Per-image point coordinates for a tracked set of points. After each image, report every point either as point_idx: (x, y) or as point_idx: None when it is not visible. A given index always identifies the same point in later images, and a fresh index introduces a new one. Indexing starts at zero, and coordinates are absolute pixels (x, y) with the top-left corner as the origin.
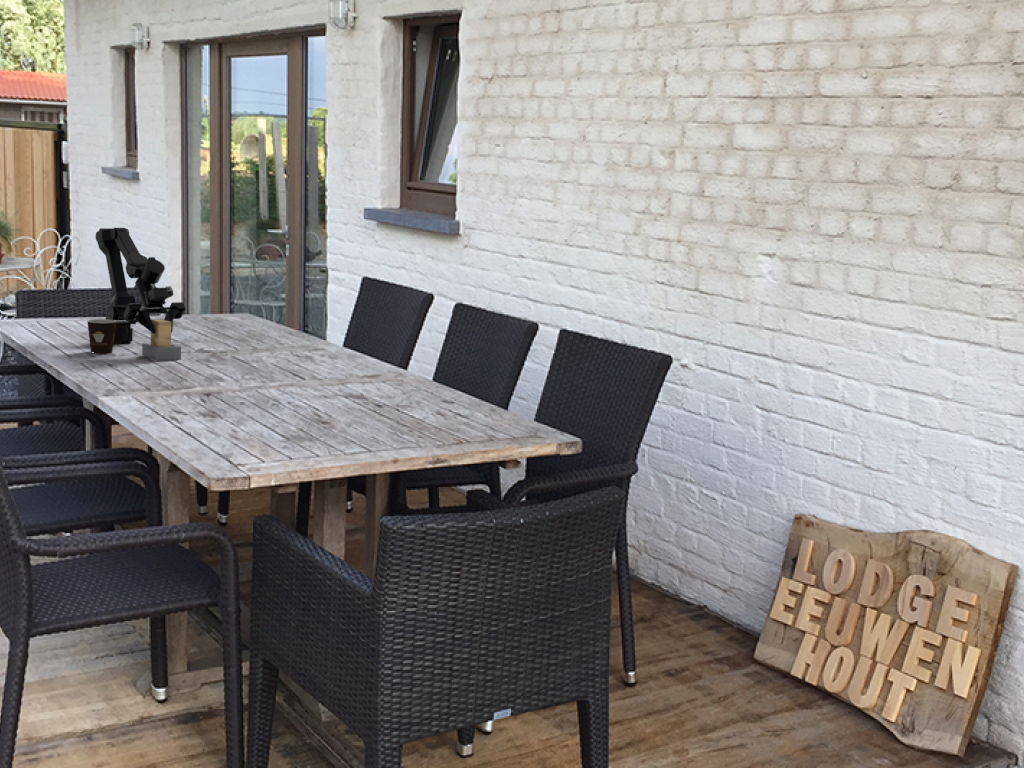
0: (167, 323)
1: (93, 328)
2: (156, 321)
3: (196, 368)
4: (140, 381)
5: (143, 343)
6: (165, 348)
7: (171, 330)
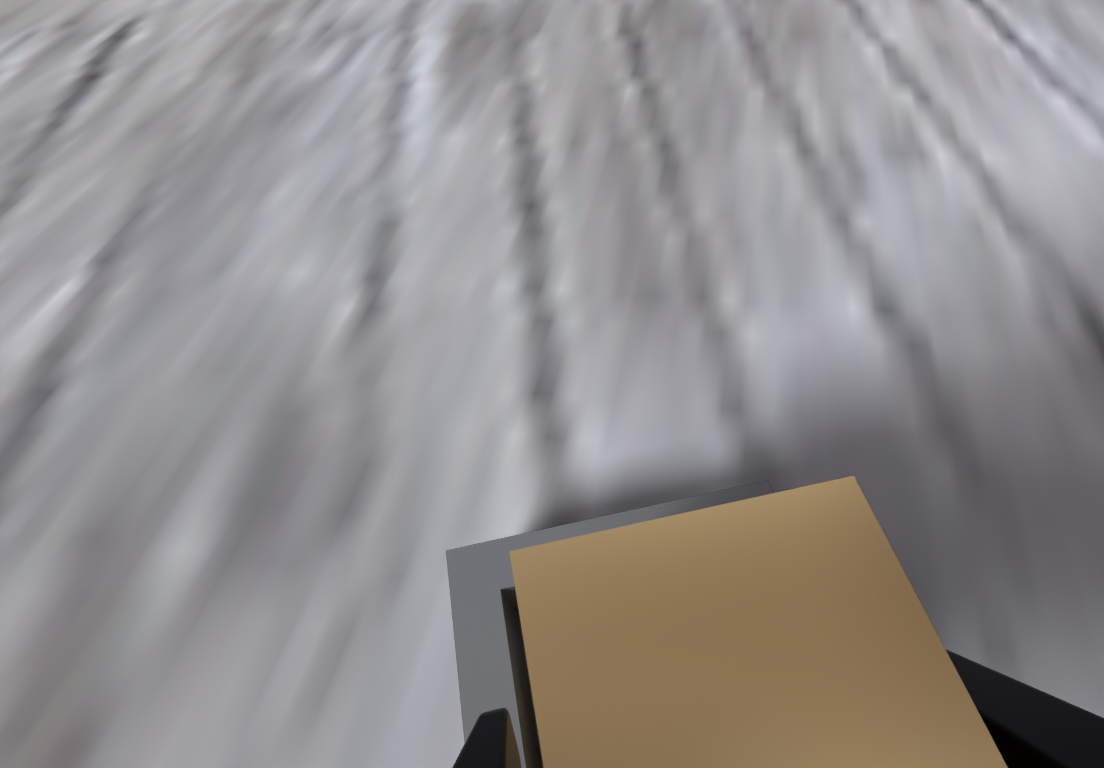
0: (621, 534)
1: None
2: (955, 672)
3: (484, 229)
4: (837, 9)
5: None
6: (647, 508)
7: (500, 710)
